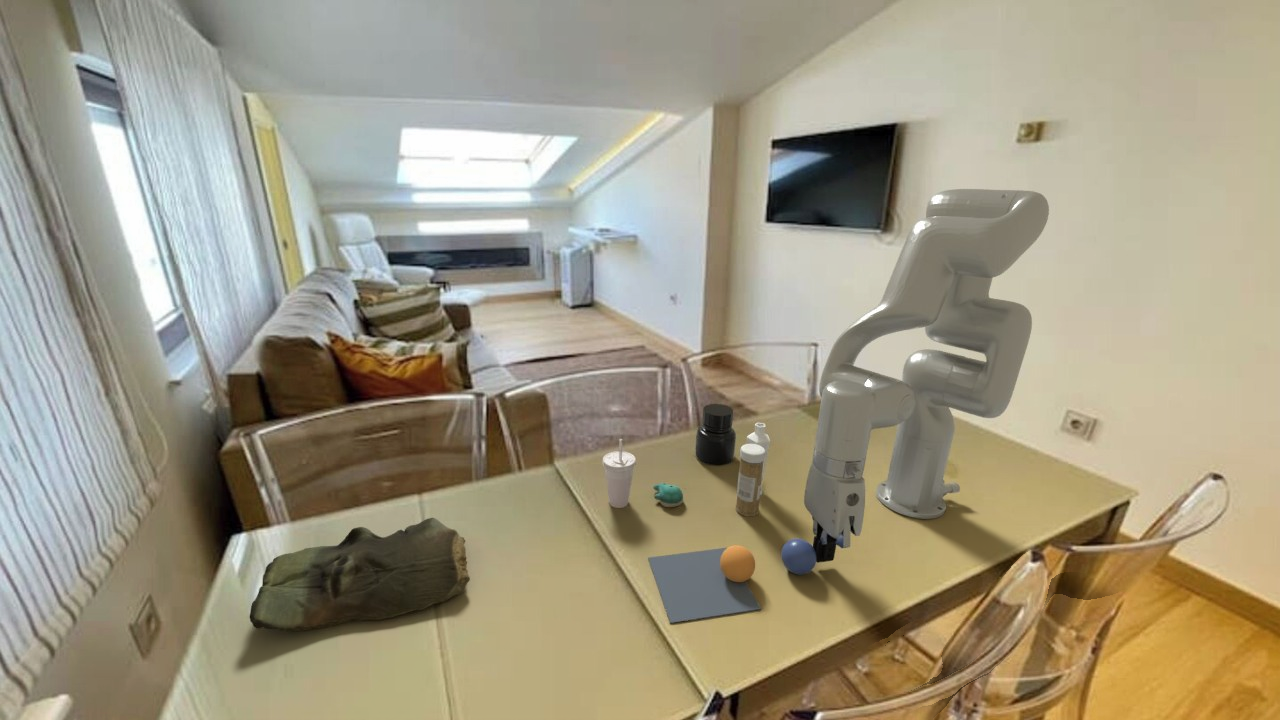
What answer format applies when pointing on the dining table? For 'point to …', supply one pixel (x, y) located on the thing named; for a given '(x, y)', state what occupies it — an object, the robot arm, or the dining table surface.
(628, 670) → the dining table surface
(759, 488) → the sprinkles bottle
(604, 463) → the smoothie
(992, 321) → the robot arm
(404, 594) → the stone head
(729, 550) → the orange ball
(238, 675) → the dining table surface
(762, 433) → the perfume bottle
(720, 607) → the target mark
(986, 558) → the dining table surface
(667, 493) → the whale figurine
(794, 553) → the blue ball
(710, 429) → the ink bottle
